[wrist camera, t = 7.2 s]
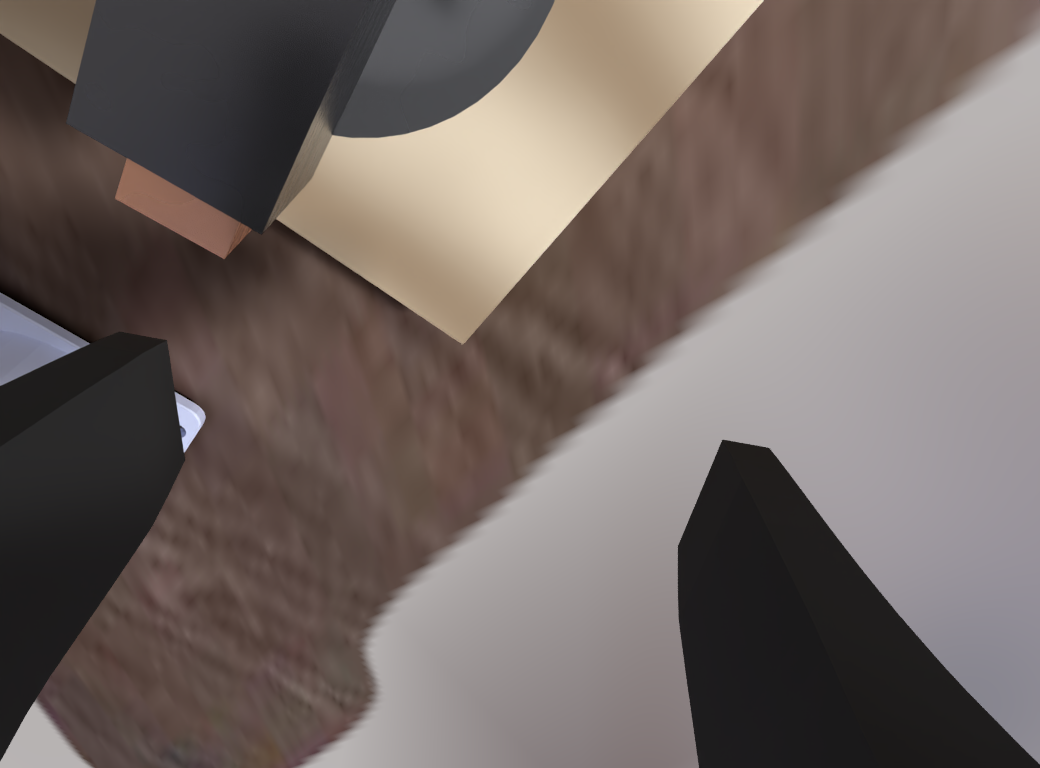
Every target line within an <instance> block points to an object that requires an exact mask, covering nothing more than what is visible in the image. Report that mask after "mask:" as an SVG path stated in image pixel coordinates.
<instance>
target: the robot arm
mask: <svg viewBox="0 0 1040 768" xmlns="http://www.w3.org/2000/svg"><path fill="white" fill-rule="evenodd" d="M204 421H205V414H204V412H203V410H202V409H201V408H200V407H199V406H198V405H197V404H195V403H194V402H192V401H190V400H188V399H186V398H185V397H183V396H181V395H179V394H178V393H176V392H175V390H174V384H173V377H172V371H171V364H170V358H169V351H168V345H167V340H162V339H157V338H151V337H146V336H140V335H134V334H129V333H123V332H118V333H115V334H113V335H110V336H108V337H105V338H103V339H100V340H98V341H96V342H93V343H91V344H90V343H88V342H86V341H85V340H83V339H81V338H79V337H78V336H76V335H74V334H72V333H71V332H69V331H67V330H65V329H64V328H62V327H60V326H58V325H57V324H55V323H53V322H51V321H49V320H48V319H46V318H44V317H42V316H41V315H39V314H37V313H35V312H34V311H32V310H30V309H28V308H27V307H25V306H23V305H21V304H20V303H18V302H16V301H14V300H13V299H11V298H9V297H7V296H6V295H4V294H2V293H0V761H1V759H2V757H3V755H4V754H5V752H6V750H7V748H8V746H9V745H10V742H11V741H12V739H13V737H14V736H15V734H16V732H17V730H18V728H19V726H20V724H21V722H22V721H23V719H24V717H25V715H26V714H27V712H28V711H29V709H30V707H31V706H32V704H33V703H34V701H35V700H36V698H37V696H38V695H39V693H40V692H41V690H42V688H43V687H44V685H45V684H46V682H47V680H48V679H49V677H50V676H51V674H52V673H53V671H54V670H55V668H56V667H57V666H58V664H59V663H60V661H61V660H62V658H63V657H64V655H65V654H66V652H67V651H68V650H69V648H70V647H71V645H72V644H73V642H74V641H75V639H76V638H77V636H78V635H79V633H80V632H81V631H82V629H83V628H84V626H85V625H86V623H87V622H88V620H89V619H90V617H91V616H92V615H93V613H94V612H95V610H96V609H97V607H98V606H99V604H100V603H101V601H102V600H103V598H104V597H105V596H106V594H107V593H108V591H109V590H110V588H111V587H112V585H113V584H114V582H115V581H116V580H117V578H118V577H119V575H120V574H121V572H122V571H123V569H124V568H125V566H126V565H127V563H128V562H129V560H130V559H131V557H132V556H133V554H134V553H135V551H136V550H137V548H138V547H139V545H140V544H141V542H142V541H143V539H144V538H145V536H146V535H147V533H148V532H149V530H150V529H151V527H152V526H153V524H154V522H155V520H156V518H157V516H158V514H159V512H160V510H161V508H162V506H163V504H164V502H165V500H166V498H167V497H168V495H169V492H170V490H171V488H172V486H173V484H174V482H175V480H176V478H177V476H178V473H179V471H180V469H181V467H182V465H183V463H184V461H185V456H184V453H185V451H186V450H187V448H188V446H189V445H190V443H191V442H192V440H193V439H194V437H195V436H196V434H197V433H198V431H199V430H200V428H201V427H202V425H203V423H204ZM180 425H181V426H182V427H183V428H184V429H183V428H180ZM678 607H679V624H680V632H681V640H682V648H683V655H684V662H685V670H686V678H687V685H688V692H689V698H690V706H691V713H692V720H693V727H694V734H695V741H696V749H697V755H698V763H699V768H1040V764H1038V762H1037V761H1035V760H1034V759H1033V758H1032V757H1031V756H1030V755H1029V754H1028V753H1027V752H1026V751H1025V750H1024V749H1023V748H1022V747H1021V746H1020V745H1019V744H1018V743H1017V742H1016V741H1015V740H1014V739H1013V738H1012V737H1011V736H1010V735H1009V734H1008V733H1007V732H1006V731H1005V730H1004V729H1003V728H1002V727H1001V726H1000V725H999V724H998V722H997V721H995V720H994V718H993V717H992V716H991V715H990V714H989V713H988V712H987V711H986V710H985V709H984V708H982V706H981V705H980V704H979V703H978V702H977V701H976V700H975V699H974V698H973V697H972V696H971V695H970V694H969V693H968V692H967V691H966V690H965V689H964V688H963V687H962V686H961V685H960V684H959V682H958V681H957V680H956V679H955V678H954V677H953V676H952V675H951V674H950V673H949V671H948V670H946V668H945V667H944V666H943V665H942V664H941V663H940V662H939V660H938V659H937V658H936V657H935V656H934V655H933V654H932V652H931V651H930V650H929V649H928V648H927V647H926V646H925V644H924V643H923V642H922V641H921V640H920V639H919V637H918V636H916V634H915V633H914V632H913V631H912V630H911V628H910V627H909V626H908V625H907V624H906V623H905V621H904V620H903V619H902V618H901V617H900V616H899V615H898V613H897V612H896V611H895V610H894V609H893V607H892V606H891V605H890V604H889V603H888V601H887V600H886V599H885V598H884V596H882V594H881V593H880V592H879V590H878V589H877V588H876V587H875V585H874V584H873V583H872V582H871V580H870V579H869V578H868V577H867V575H866V574H865V573H864V572H863V570H862V569H861V568H860V567H859V565H858V564H857V563H856V562H855V560H854V559H853V558H852V556H851V555H850V554H849V553H848V551H847V550H846V549H845V548H844V546H843V545H842V543H841V542H840V541H839V540H838V538H837V537H836V536H835V535H834V533H833V532H832V530H831V529H830V528H829V526H828V525H827V524H826V522H825V521H824V520H823V518H822V517H821V516H820V514H819V513H818V512H817V511H816V509H815V508H814V506H813V505H812V504H811V503H810V501H809V500H808V498H807V497H806V496H805V494H804V493H803V492H802V490H801V489H800V488H799V486H798V485H797V484H796V482H795V481H794V480H793V478H792V477H791V476H790V474H789V473H788V472H787V470H786V469H785V468H784V466H783V465H782V464H781V462H780V461H779V460H778V459H777V457H776V456H775V455H774V454H773V452H772V451H771V450H770V449H769V448H766V447H760V446H755V445H750V444H744V443H738V442H733V441H727V440H722V442H721V445H720V447H719V450H718V452H717V454H716V457H715V459H714V462H713V464H712V466H711V469H710V471H709V474H708V476H707V478H706V481H705V483H704V485H703V488H702V490H701V492H700V495H699V497H698V500H697V502H696V504H695V507H694V509H693V512H692V514H691V516H690V519H689V521H688V524H687V526H686V529H685V531H684V533H683V536H682V538H681V540H680V543H679V545H678Z"/></svg>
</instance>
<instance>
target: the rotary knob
mask: <svg viewBox="0 0 1040 768" xmlns="http://www.w3.org/2000/svg"><path fill="white" fill-rule="evenodd" d="M554 1H555V0H96V2H95V6H94V11H93V15H92V19H91V23H90V27H89V31H88V35H87V39H86V43H85V48H84V52H83V56H82V60H81V64H80V68H79V72H78V76H77V81H76V85H75V89H74V93H73V97H72V101H71V105H70V109H69V113H68V118H67V122H66V124H68V125H70V126H72V127H73V128H75V129H77V130H79V131H80V132H82V133H84V134H86V135H87V136H89V137H91V138H93V139H94V140H96V141H98V142H100V143H102V144H103V145H105V146H107V147H109V148H110V149H112V150H114V151H116V152H117V153H119V154H121V155H123V156H124V157H126V158H127V160H126V164H125V167H124V170H123V173H122V177H121V180H120V183H119V187H118V190H117V193H116V196H115V199H116V200H118V201H120V202H122V203H124V204H125V205H127V206H129V207H131V208H133V209H134V210H136V211H138V212H140V213H142V214H144V215H145V216H147V217H149V218H151V219H153V220H154V221H156V222H158V223H160V224H162V225H163V226H165V227H167V228H169V229H171V230H172V231H174V232H176V233H178V234H180V235H182V236H183V237H185V238H187V239H189V240H191V241H192V242H194V243H196V244H198V245H200V246H201V247H203V248H205V249H207V250H209V251H210V252H212V253H214V254H216V255H218V256H219V257H221V258H223V259H225V258H226V257H227V256H228V255H229V254H230V252H231V251H232V250H233V249H234V248H235V247H236V246H237V245H238V244H239V243H240V242H241V241H242V240H243V239H244V238H245V236H246V235H247V234H248V233H249V232H250V231H251V230H252V229H253V230H254V231H256V232H258V233H260V234H261V235H262V234H263V233H264V231H265V230H266V229H267V228H268V227H269V226H270V225H271V224H272V223H273V221H274V220H275V219H276V218H277V217H278V216H279V215H280V214H281V213H282V211H283V210H284V209H285V208H286V207H287V206H288V205H289V204H290V203H291V201H292V200H293V199H294V198H295V197H296V196H297V195H298V194H299V193H300V191H301V190H302V189H303V188H304V187H305V186H306V185H307V184H308V183H309V181H310V180H311V179H312V177H313V175H314V173H315V171H316V169H317V167H318V165H319V162H320V160H321V158H322V156H323V154H324V152H325V150H326V148H327V146H328V143H329V141H330V139H331V137H332V135H334V136H342V137H349V138H381V137H389V136H396V135H403V134H408V133H411V132H415V131H418V130H422V129H425V128H429V127H432V126H434V125H436V124H438V123H441V122H443V121H445V120H447V119H450V118H452V117H454V116H456V115H457V114H459V113H461V112H462V111H464V110H465V109H467V108H469V107H470V106H472V105H473V104H475V103H477V102H478V101H479V100H481V99H482V98H483V97H484V96H485V95H486V94H488V93H489V92H490V91H491V90H492V89H494V88H495V87H496V86H497V85H498V84H500V83H501V81H502V80H503V79H504V78H505V77H506V76H507V75H508V74H509V73H510V71H511V70H512V69H513V68H514V67H515V66H516V65H517V64H518V63H519V61H520V60H521V59H522V57H523V56H524V54H525V53H526V51H527V50H528V49H529V47H530V46H531V44H532V43H533V41H534V40H535V38H536V37H537V35H538V34H539V32H540V30H541V28H542V26H543V24H544V22H545V20H546V18H547V16H548V14H549V12H550V10H551V8H552V6H553V4H554Z"/></svg>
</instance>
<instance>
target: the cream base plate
mask: <svg viewBox="0 0 1040 768" xmlns="http://www.w3.org/2000/svg"><path fill="white" fill-rule="evenodd" d="M763 1H764V0H555V1H554V4H553V6H552V8H551V10H550V12H549V14H548V16H547V18H546V20H545V22H544V24H543V26H542V28H541V30H540V32H539V34H538V35H537V37H536V38H535V40H534V41H533V43H532V44H531V46H530V47H529V49H528V50H527V51H526V53H525V54H524V56H523V57H522V59H521V60H520V61H519V63H518V64H517V65H516V66H515V67H514V68H513V69H512V70H511V71H510V73H509V74H508V75H507V76H506V77H505V78H504V79H503V80H502V81H501V83H500V84H498V85H497V86H496V87H495V88H494V89H492V90H491V91H490V92H489V93H488V94H486V95H485V96H484V97H483V98H482V99H481V100H479V101H478V102H477V103H475V104H473V105H472V106H470V107H469V108H467V109H465V110H464V111H462V112H461V113H459V114H457V115H456V116H454V117H452V118H450V119H447V120H445V121H443V122H441V123H438V124H436V125H434V126H432V127H429V128H425V129H422V130H418V131H415V132H411V133H408V134H403V135H396V136H389V137H381V138H349V137H342V136H334V135H332V137H331V139H330V141H329V143H328V146H327V148H326V150H325V152H324V154H323V156H322V158H321V160H320V162H319V165H318V167H317V169H316V171H315V173H314V175H313V177H312V179H311V180H310V181H309V183H308V184H307V185H306V186H305V187H304V188H303V189H302V190H301V191H300V193H299V194H298V195H297V196H296V197H295V198H294V199H293V200H292V201H291V203H290V204H289V205H288V206H287V207H286V208H285V209H284V210H283V211H282V213H281V214H280V215H279V216H278V217H277V218H276V219H277V220H278V221H280V222H281V223H283V224H284V225H286V226H287V227H289V228H290V229H292V230H293V231H295V232H296V233H298V234H299V235H301V236H302V237H304V238H305V239H307V240H308V241H310V242H311V243H313V244H314V245H316V246H317V247H319V248H320V249H322V250H323V251H325V252H326V253H328V254H329V255H330V256H332V257H333V258H335V259H336V260H338V261H339V262H341V263H342V264H344V265H345V266H347V267H348V268H350V269H351V270H353V271H354V272H356V273H357V274H359V275H360V276H362V277H363V278H365V279H366V280H368V281H369V282H371V283H372V284H374V285H375V286H377V287H378V288H380V289H381V290H383V291H384V292H386V293H387V294H388V295H390V296H391V297H393V298H394V299H396V300H397V301H399V302H400V303H402V304H403V305H405V306H406V307H408V308H409V309H411V310H412V311H414V312H415V313H417V314H418V315H420V316H421V317H423V318H424V319H426V320H427V321H429V322H430V323H432V324H433V325H435V326H436V327H438V328H439V329H441V330H442V331H444V332H445V333H447V334H448V335H449V336H451V337H452V338H454V339H455V340H457V341H458V342H460V343H461V344H464V343H465V342H466V340H467V339H468V338H469V337H470V336H471V335H472V334H473V332H474V331H475V330H476V329H477V328H478V327H479V326H480V324H481V323H482V322H483V321H484V320H485V319H486V318H487V316H488V315H489V314H490V313H491V312H492V311H493V310H494V308H495V307H496V306H497V305H498V304H499V303H500V302H501V300H502V299H503V298H504V297H505V296H506V295H507V294H508V292H509V291H510V290H511V289H512V288H513V287H514V286H515V284H516V283H517V282H518V281H519V280H520V279H521V278H522V276H523V275H524V274H525V273H526V272H527V271H528V270H529V268H530V267H531V266H532V265H533V264H534V263H535V262H536V260H537V259H538V258H539V257H540V256H541V255H542V254H543V252H544V251H545V250H546V249H547V248H548V247H549V246H550V244H551V243H552V242H553V241H554V240H555V239H556V237H557V236H558V235H559V234H560V233H561V232H562V231H563V229H564V228H565V227H566V226H567V225H568V224H569V223H570V221H571V220H572V219H573V218H574V217H575V216H576V215H577V213H578V212H579V211H580V210H581V209H582V208H583V207H584V205H585V204H586V203H587V202H588V201H589V200H590V199H591V197H592V196H593V195H594V194H595V193H596V192H597V191H598V189H599V188H600V187H601V186H602V185H603V184H604V183H605V181H606V180H607V179H608V178H609V177H610V176H611V175H612V173H613V172H614V171H615V170H616V169H617V168H618V167H619V165H620V164H621V163H622V162H623V161H624V160H625V159H626V157H627V156H628V155H629V154H630V153H631V152H632V151H633V149H634V148H635V147H636V146H637V145H638V144H639V143H640V141H641V140H642V139H643V138H644V137H645V136H646V135H647V133H648V132H649V131H650V130H651V129H652V128H653V127H654V125H655V124H656V123H657V122H658V121H659V120H660V119H661V117H662V116H663V115H664V114H665V113H666V112H667V110H668V109H669V108H670V107H671V106H672V105H673V104H674V102H675V101H676V100H677V99H678V98H679V97H680V96H681V94H682V93H683V92H684V91H685V90H686V89H687V88H688V86H689V85H690V84H691V83H692V82H693V81H694V80H695V78H696V77H697V76H698V75H699V74H700V73H701V72H702V70H703V69H704V68H705V67H706V66H707V65H708V64H709V62H710V61H711V60H712V59H713V58H714V57H715V56H716V54H717V53H718V52H719V51H720V50H721V49H722V48H723V46H724V45H725V44H726V43H727V42H728V41H729V40H730V38H731V37H732V36H733V35H734V34H735V33H736V32H737V30H738V29H739V28H740V27H741V26H742V25H743V24H744V22H745V21H746V20H747V19H748V18H749V17H750V16H751V14H752V13H753V12H754V11H755V10H756V9H757V8H758V6H759V5H760V4H761V3H762V2H763ZM95 2H96V0H0V34H2V35H3V36H5V37H6V38H8V39H9V40H11V41H12V42H14V43H15V44H17V45H18V46H20V47H21V48H23V49H24V50H26V51H27V52H29V53H30V54H31V55H33V56H34V57H36V58H37V59H39V60H40V61H42V62H43V63H45V64H46V65H48V66H49V67H51V68H52V69H54V70H55V71H57V72H58V73H60V74H61V75H63V76H64V77H66V78H67V79H69V80H70V81H72V82H73V83H75V84H76V81H77V76H78V72H79V68H80V64H81V60H82V56H83V52H84V48H85V43H86V39H87V35H88V31H89V27H90V23H91V19H92V15H93V11H94V6H95Z"/></svg>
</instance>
